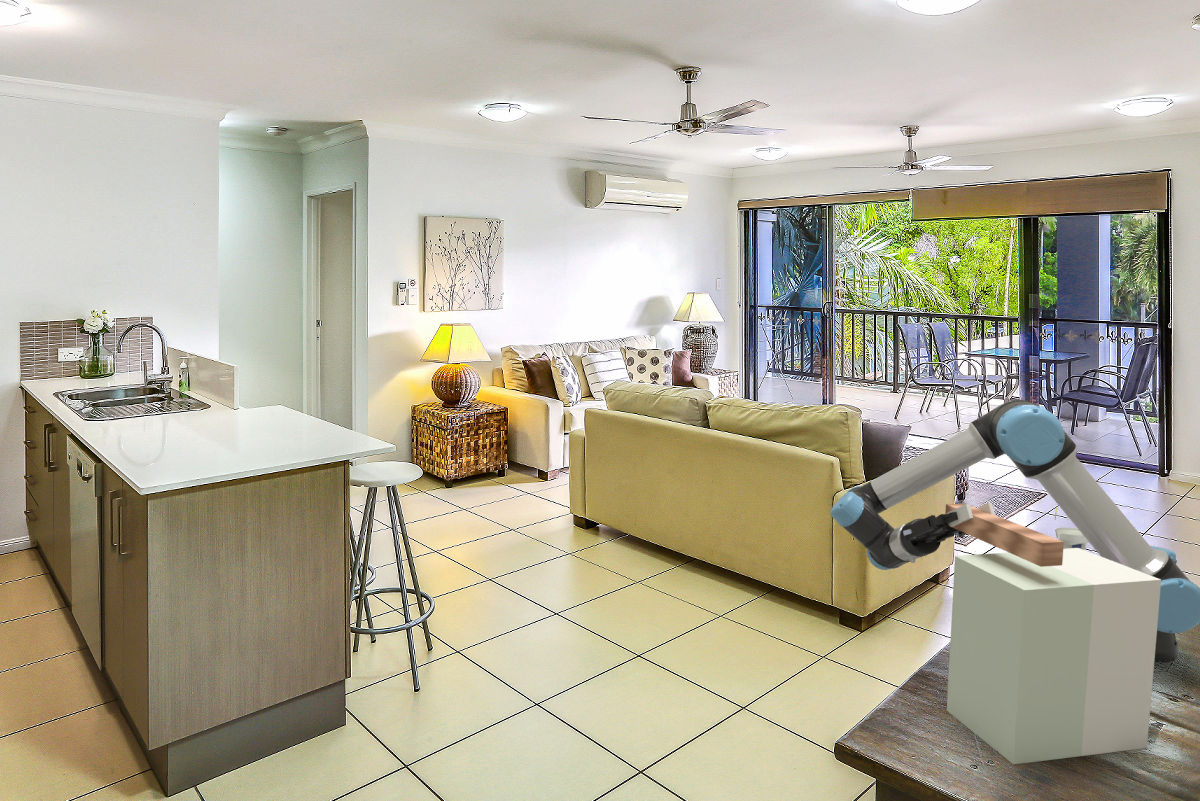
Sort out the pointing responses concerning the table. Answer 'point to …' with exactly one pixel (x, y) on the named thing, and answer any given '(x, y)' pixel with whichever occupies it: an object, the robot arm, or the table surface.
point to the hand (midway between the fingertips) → (980, 510)
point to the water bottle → (1071, 537)
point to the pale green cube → (1052, 654)
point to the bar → (1011, 537)
